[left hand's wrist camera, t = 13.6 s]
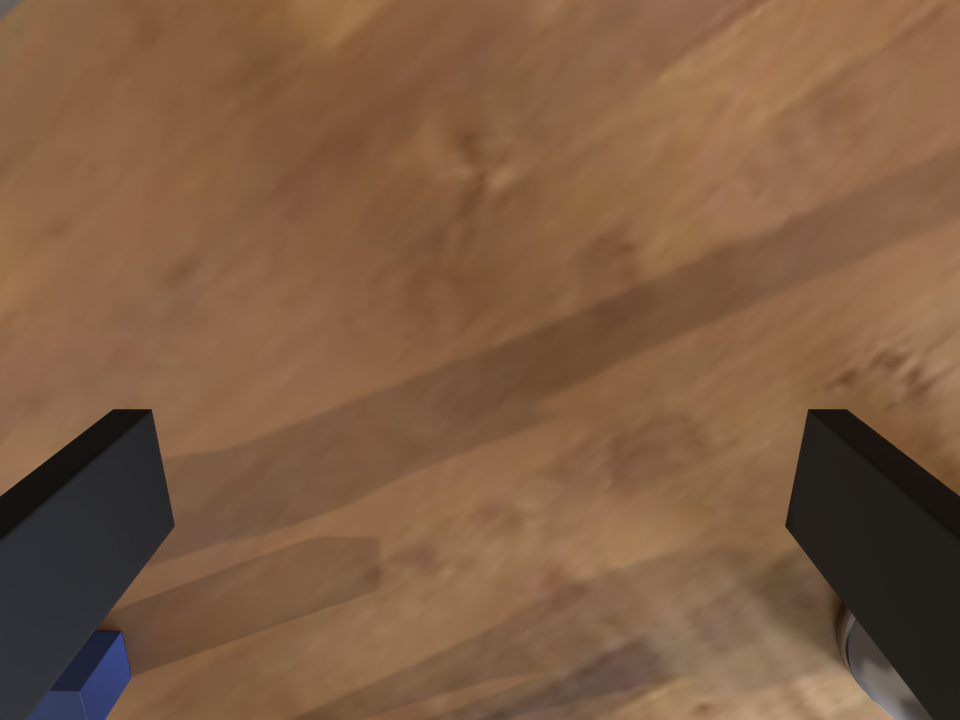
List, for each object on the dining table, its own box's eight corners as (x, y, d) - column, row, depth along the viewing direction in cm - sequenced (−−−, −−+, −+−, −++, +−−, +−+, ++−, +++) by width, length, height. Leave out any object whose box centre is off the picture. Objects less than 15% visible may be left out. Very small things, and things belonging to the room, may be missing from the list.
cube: (60, 629, 43) (10, 690, 39) (121, 630, 43) (79, 691, 39) (72, 676, 45) (26, 740, 40) (131, 677, 45) (92, 741, 40)
